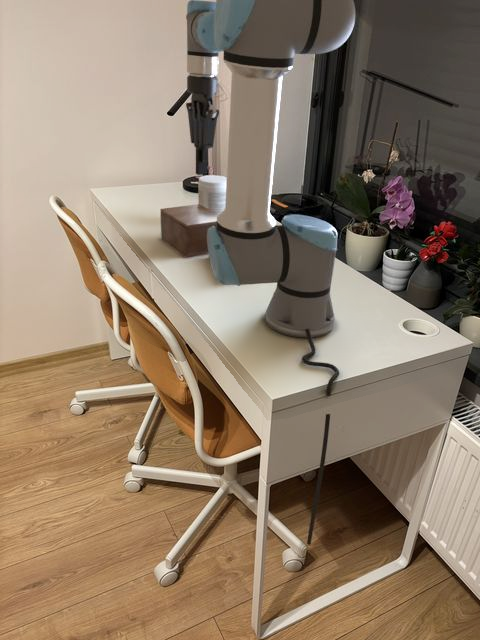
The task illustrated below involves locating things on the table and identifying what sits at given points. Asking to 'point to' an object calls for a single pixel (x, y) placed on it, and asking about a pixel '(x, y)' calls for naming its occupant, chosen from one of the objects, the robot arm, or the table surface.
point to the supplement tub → (212, 192)
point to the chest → (184, 237)
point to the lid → (191, 215)
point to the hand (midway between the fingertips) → (201, 173)
